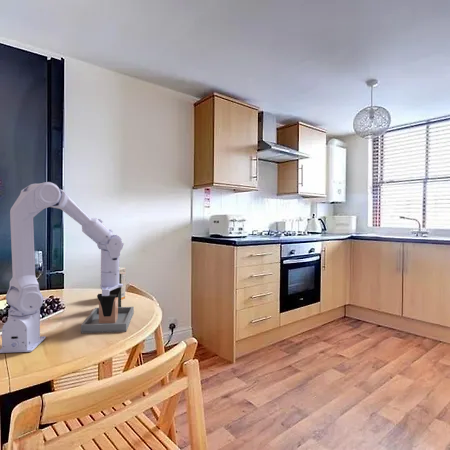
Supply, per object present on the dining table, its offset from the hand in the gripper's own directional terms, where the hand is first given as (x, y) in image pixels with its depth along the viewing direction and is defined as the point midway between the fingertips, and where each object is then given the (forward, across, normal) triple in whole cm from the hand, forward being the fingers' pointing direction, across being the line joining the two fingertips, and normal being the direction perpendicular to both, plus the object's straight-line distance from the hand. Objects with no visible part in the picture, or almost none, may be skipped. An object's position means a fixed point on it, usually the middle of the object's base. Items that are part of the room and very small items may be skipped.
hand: (109, 312), depth 106 cm
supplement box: (+3, +30, +4) cm, 30 cm away
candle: (+3, +16, +2) cm, 16 cm away
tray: (+3, 0, 0) cm, 3 cm away
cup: (+3, 0, 0) cm, 3 cm away
